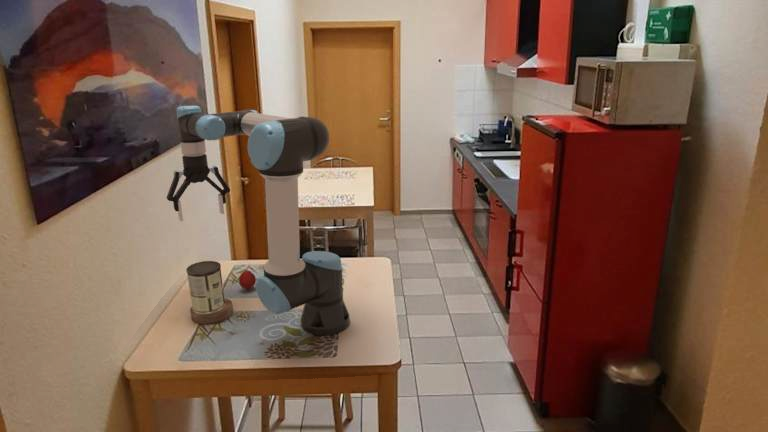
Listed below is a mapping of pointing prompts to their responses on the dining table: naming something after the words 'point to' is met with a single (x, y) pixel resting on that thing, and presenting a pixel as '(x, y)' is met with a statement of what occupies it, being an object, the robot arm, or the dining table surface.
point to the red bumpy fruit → (247, 279)
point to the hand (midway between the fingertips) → (201, 216)
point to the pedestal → (214, 314)
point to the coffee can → (206, 287)
